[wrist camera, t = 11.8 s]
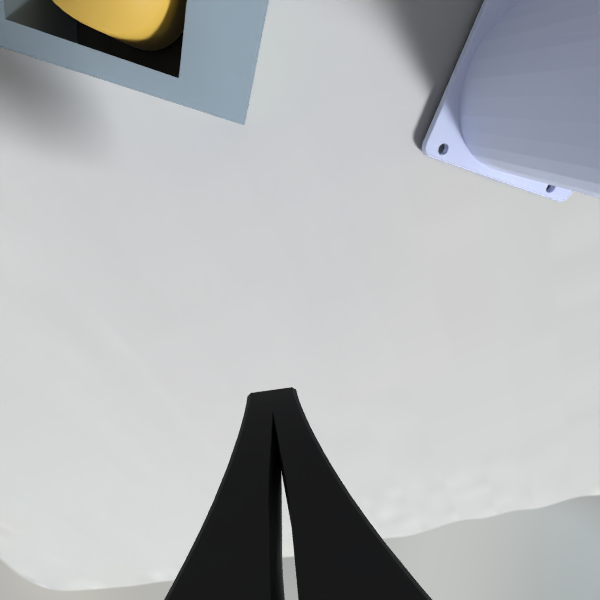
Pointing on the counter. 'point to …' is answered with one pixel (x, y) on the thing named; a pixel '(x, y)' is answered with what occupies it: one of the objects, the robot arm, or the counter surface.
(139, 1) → the button
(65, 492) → the counter surface
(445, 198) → the counter surface
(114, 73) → the cabinet
